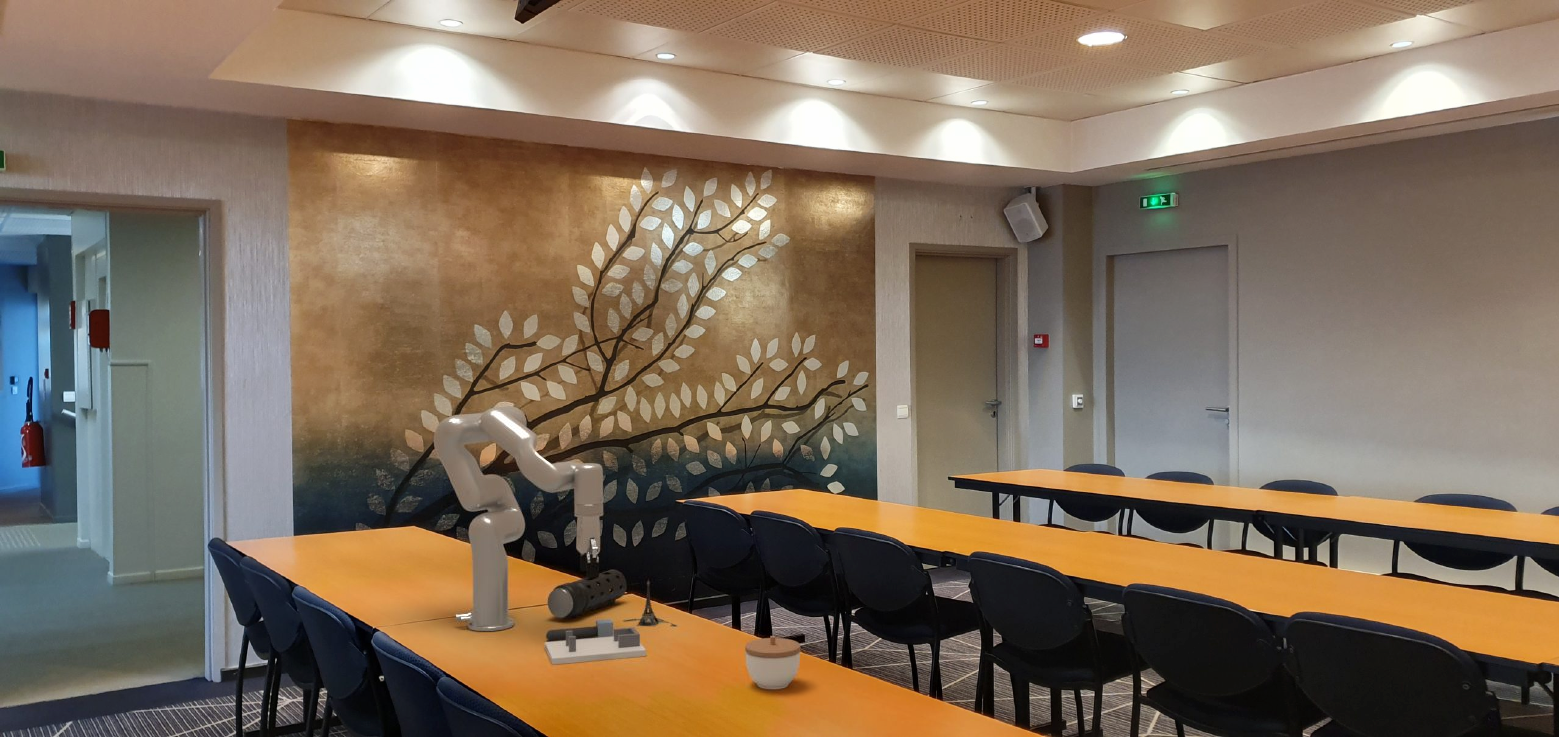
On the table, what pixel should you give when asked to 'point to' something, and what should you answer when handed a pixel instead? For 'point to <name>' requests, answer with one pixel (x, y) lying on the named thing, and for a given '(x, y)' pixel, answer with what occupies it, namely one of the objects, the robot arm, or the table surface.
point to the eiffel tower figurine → (649, 614)
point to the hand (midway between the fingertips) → (589, 573)
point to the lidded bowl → (772, 661)
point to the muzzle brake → (586, 594)
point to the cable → (584, 631)
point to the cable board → (596, 647)
